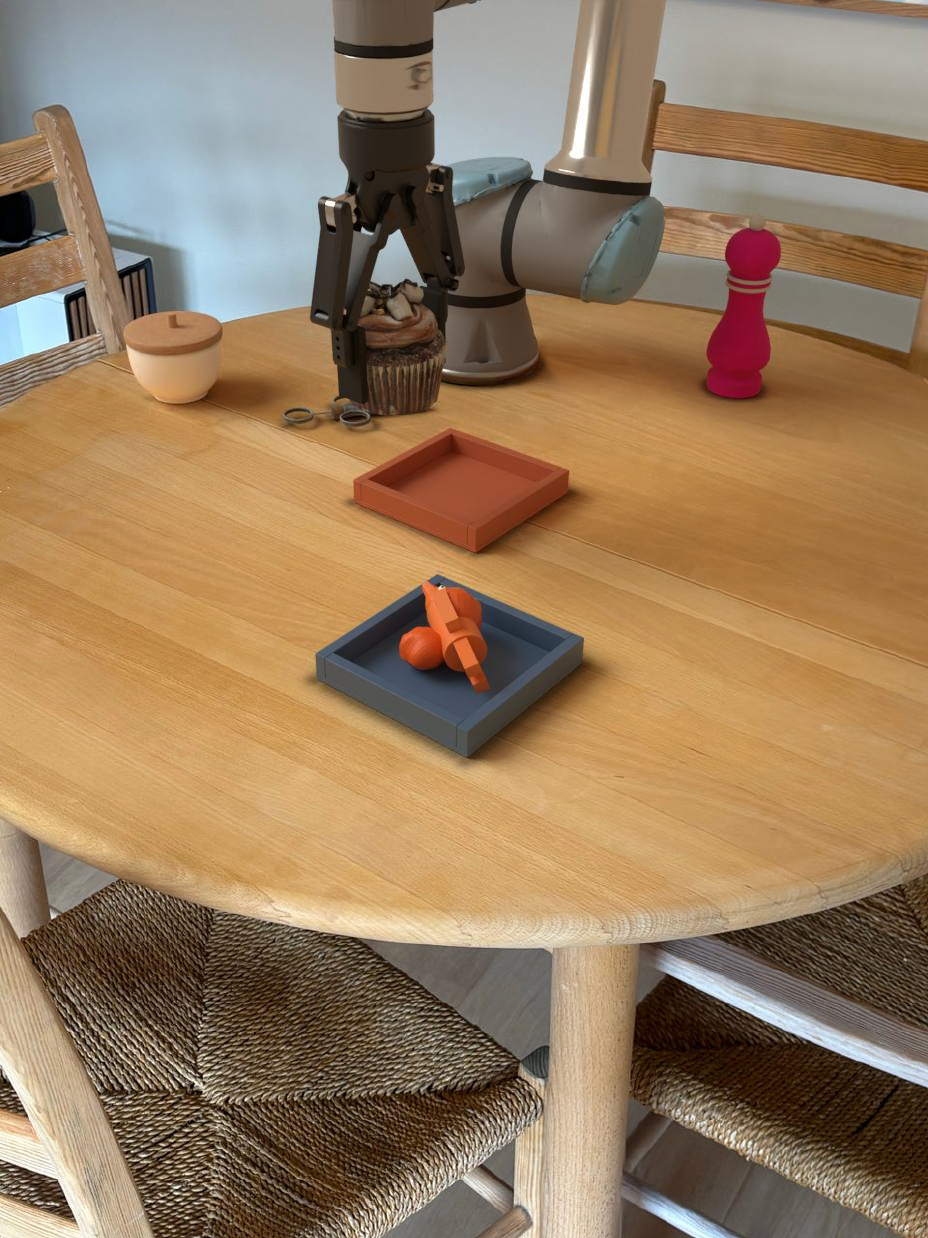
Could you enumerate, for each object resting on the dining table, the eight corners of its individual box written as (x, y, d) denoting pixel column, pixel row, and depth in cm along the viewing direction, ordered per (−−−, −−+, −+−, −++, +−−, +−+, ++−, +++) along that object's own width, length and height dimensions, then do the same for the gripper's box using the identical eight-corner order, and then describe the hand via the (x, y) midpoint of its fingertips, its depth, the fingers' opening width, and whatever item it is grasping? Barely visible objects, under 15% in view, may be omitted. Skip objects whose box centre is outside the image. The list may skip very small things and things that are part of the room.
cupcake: (338, 421, 105) (332, 308, 100) (339, 374, 113) (333, 266, 107) (451, 418, 106) (451, 305, 100) (444, 371, 114) (443, 264, 108)
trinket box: (163, 421, 136) (152, 339, 130) (115, 390, 142) (103, 310, 137) (246, 395, 141) (239, 315, 136) (196, 366, 148) (188, 289, 143)
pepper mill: (695, 394, 143) (718, 219, 132) (709, 371, 149) (732, 201, 138) (758, 404, 141) (786, 228, 130) (769, 381, 147) (798, 209, 136)
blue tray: (316, 679, 98) (314, 653, 96) (437, 598, 107) (437, 573, 106) (467, 758, 90) (467, 731, 89) (582, 663, 100) (584, 637, 98)
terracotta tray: (353, 502, 121) (352, 479, 120) (449, 449, 131) (450, 427, 130) (475, 553, 114) (476, 529, 112) (568, 492, 123) (569, 469, 122)
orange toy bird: (500, 640, 91) (459, 557, 101) (407, 680, 91) (374, 593, 101) (519, 688, 94) (477, 603, 104) (428, 727, 94) (395, 639, 104)
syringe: (452, 422, 137) (452, 407, 136) (289, 439, 133) (288, 424, 132) (434, 393, 143) (434, 379, 142) (278, 409, 139) (277, 395, 138)
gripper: (320, 146, 87) (337, 435, 100) (511, 90, 101) (504, 350, 114) (245, 129, 91) (271, 409, 103) (439, 77, 105) (441, 330, 118)
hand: (393, 378), depth 109 cm, fingers closed on cupcake, 10 cm apart
